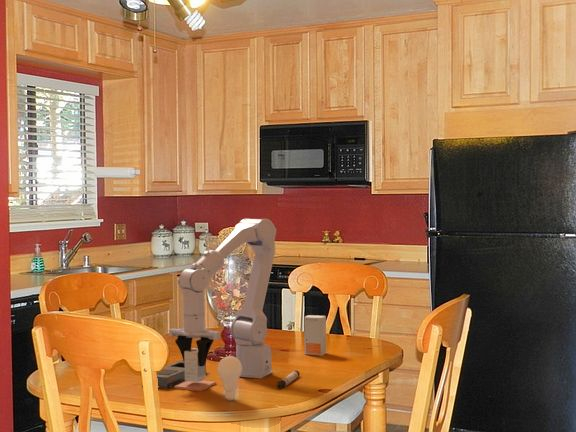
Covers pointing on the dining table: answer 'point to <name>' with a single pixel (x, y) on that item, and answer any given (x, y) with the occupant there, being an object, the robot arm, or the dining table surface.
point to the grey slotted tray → (172, 375)
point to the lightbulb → (229, 375)
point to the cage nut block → (193, 366)
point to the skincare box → (315, 335)
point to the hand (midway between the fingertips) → (194, 365)
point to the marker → (288, 379)
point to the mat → (195, 385)
